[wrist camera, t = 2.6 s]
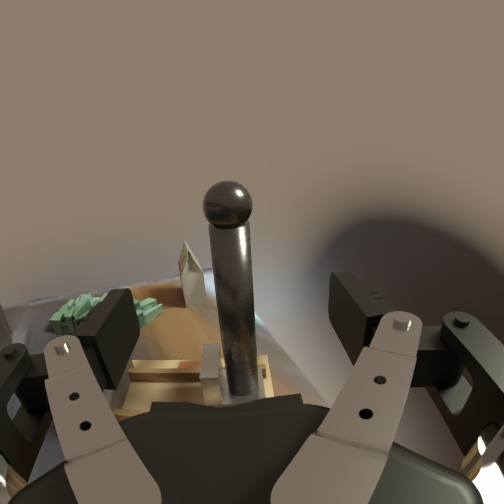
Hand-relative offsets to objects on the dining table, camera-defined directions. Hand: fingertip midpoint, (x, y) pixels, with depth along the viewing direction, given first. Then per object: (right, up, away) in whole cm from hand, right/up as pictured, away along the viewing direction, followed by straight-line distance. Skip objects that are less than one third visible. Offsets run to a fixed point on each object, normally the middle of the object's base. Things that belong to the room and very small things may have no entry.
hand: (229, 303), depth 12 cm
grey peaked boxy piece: (-10, -7, +43) cm, 44 cm away
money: (-24, -10, +36) cm, 44 cm away
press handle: (-1, -13, +17) cm, 21 cm away
